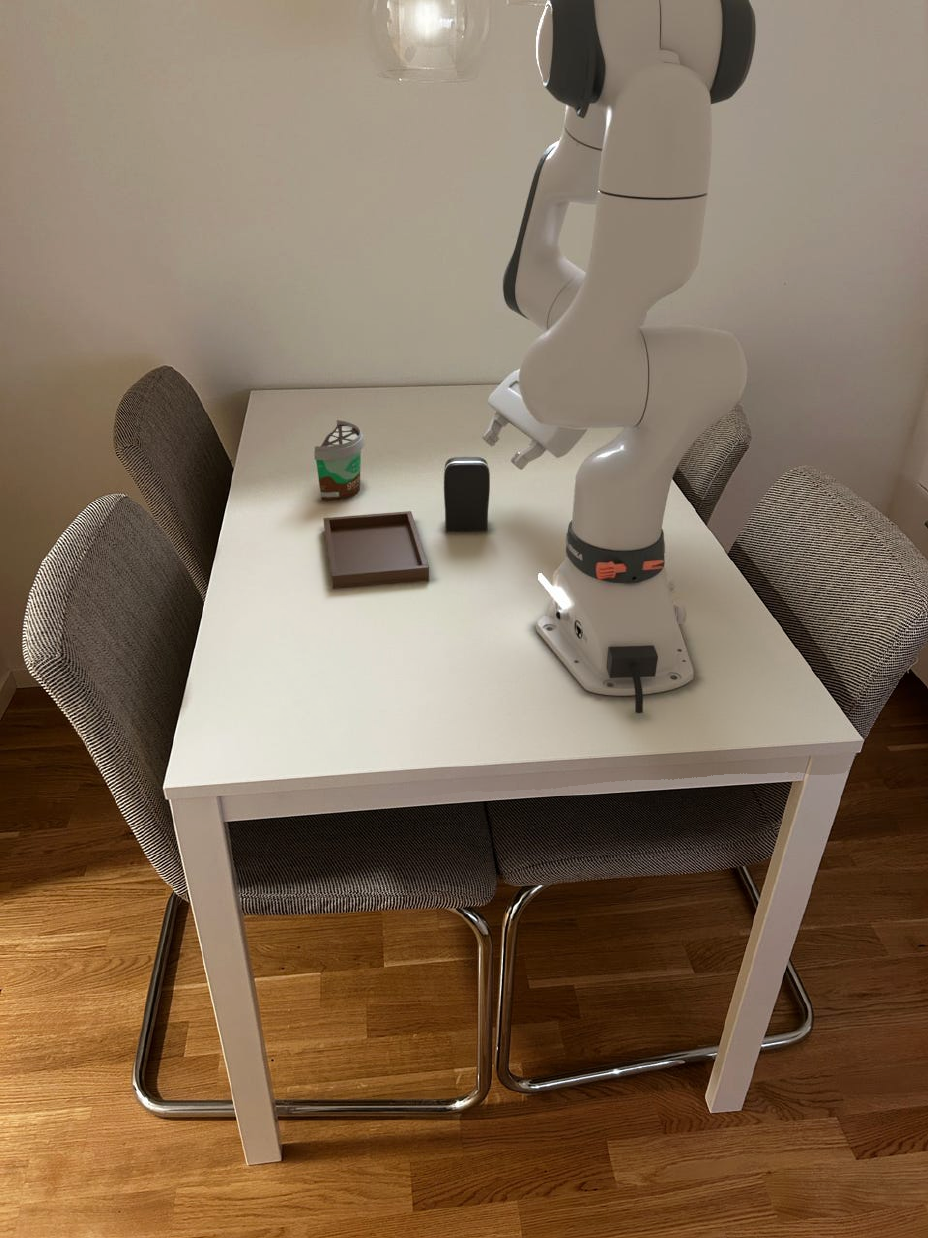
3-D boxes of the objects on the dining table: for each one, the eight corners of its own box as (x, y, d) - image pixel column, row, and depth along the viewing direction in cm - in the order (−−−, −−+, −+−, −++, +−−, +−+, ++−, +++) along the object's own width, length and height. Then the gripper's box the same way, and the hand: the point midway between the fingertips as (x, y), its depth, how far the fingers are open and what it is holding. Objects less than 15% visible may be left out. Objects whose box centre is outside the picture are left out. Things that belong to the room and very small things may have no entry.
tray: (429, 580, 133) (429, 567, 132) (333, 589, 131) (331, 576, 130) (411, 522, 148) (411, 510, 146) (324, 529, 145) (323, 517, 144)
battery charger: (487, 520, 148) (489, 453, 142) (489, 532, 145) (490, 463, 139) (443, 521, 148) (443, 453, 142) (444, 532, 145) (443, 464, 139)
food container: (354, 508, 151) (351, 450, 146) (318, 504, 152) (313, 447, 147) (376, 476, 162) (373, 421, 156) (341, 473, 163) (337, 418, 157)
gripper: (515, 349, 147) (458, 418, 148) (584, 391, 131) (520, 468, 133) (538, 373, 151) (482, 440, 153) (608, 417, 135) (545, 491, 137)
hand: (500, 453), depth 143 cm, fingers open, 8 cm apart
